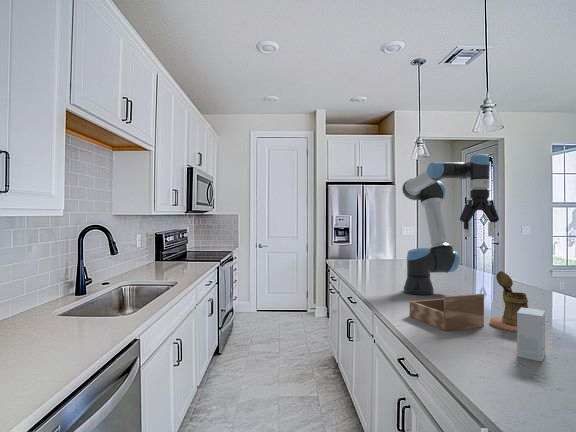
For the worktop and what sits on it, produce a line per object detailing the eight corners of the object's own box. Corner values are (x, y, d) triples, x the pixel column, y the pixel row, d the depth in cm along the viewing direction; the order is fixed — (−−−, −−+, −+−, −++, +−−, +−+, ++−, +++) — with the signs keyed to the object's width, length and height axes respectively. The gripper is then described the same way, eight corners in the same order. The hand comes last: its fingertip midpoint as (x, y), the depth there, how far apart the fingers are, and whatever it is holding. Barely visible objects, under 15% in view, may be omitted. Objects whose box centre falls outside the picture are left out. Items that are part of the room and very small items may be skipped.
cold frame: (409, 316, 149) (409, 286, 149) (443, 312, 154) (444, 284, 154) (446, 331, 129) (446, 297, 129) (483, 326, 135) (483, 294, 135)
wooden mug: (510, 316, 143) (510, 270, 143) (537, 326, 130) (537, 276, 129) (489, 316, 142) (489, 271, 142) (514, 327, 129) (514, 276, 129)
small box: (520, 348, 112) (520, 306, 112) (545, 353, 108) (545, 310, 108) (516, 356, 106) (516, 312, 106) (542, 362, 102) (542, 316, 102)
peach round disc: (481, 322, 140) (481, 318, 140) (508, 319, 144) (508, 315, 144) (514, 333, 127) (514, 329, 127) (543, 329, 131) (543, 325, 131)
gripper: (464, 188, 155) (464, 237, 155) (508, 189, 163) (508, 236, 163) (451, 189, 162) (451, 236, 162) (493, 190, 170) (493, 235, 170)
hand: (479, 236), depth 163 cm, fingers open, 13 cm apart
